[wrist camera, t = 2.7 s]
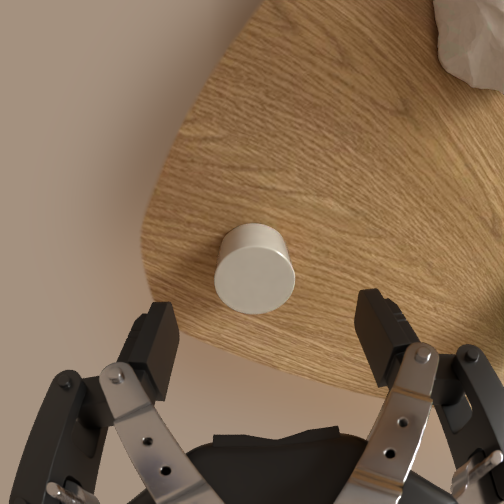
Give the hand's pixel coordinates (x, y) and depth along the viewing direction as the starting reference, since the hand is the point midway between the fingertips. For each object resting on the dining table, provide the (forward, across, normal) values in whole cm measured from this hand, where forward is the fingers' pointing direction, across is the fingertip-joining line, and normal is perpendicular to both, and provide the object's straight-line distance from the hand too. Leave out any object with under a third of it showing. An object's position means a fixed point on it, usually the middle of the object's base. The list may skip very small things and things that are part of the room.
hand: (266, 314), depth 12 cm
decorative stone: (+6, -17, -17) cm, 24 cm away
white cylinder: (+6, 0, 0) cm, 6 cm away
